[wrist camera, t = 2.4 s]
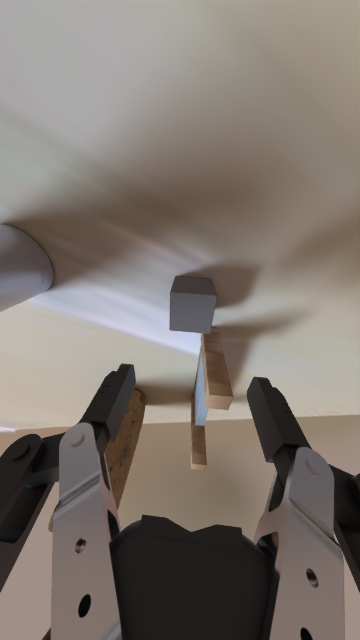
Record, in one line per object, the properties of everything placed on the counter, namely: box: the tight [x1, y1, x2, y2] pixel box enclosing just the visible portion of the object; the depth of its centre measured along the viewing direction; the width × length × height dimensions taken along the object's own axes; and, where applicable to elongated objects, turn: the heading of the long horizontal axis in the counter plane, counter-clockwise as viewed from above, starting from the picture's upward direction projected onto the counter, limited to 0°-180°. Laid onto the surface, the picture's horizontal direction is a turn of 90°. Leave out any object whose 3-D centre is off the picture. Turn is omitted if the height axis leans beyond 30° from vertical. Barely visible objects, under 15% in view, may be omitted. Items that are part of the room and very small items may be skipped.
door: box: [195, 352, 208, 426], centre depth 28 cm, size 3×14×6 cm, turn 177°
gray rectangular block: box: [170, 276, 217, 334], centre depth 20 cm, size 5×5×6 cm
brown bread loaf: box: [48, 389, 145, 532], centre depth 29 cm, size 11×8×20 cm
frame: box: [191, 328, 233, 470], centre depth 26 cm, size 2×21×12 cm, turn 177°
